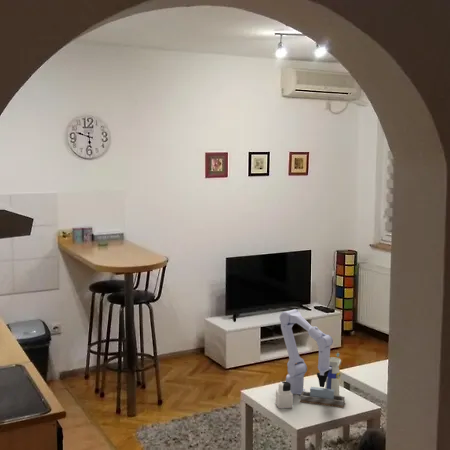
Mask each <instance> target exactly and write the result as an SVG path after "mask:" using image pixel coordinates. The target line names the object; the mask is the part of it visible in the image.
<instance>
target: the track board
mask: <svg viewBox="0 0 450 450" xmlns="http://www.w3.org/2000/svg"><path fill="white" fill-rule="evenodd" d="M345 401H346V400H345V396H341V395H339V396H335V395H334V399H326V398H319V397H311V396H310V391H302V393H301V395H300V397H299V403H305V404H311V405H319V406H326V407H334V408H342V409H343V408H344V405H345Z"/></svg>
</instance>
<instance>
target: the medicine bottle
mask: <svg viewBox="0 0 450 450" xmlns="http://www.w3.org/2000/svg"><path fill="white" fill-rule="evenodd" d="M290 390H291V384H290V383H289V382H286V380H283V381H280V382H279V383H278V389H275V404H276V406H277V407H278V408H279V409H293V407H294V406H293V404H294V403H293V401H294V394H292V393H291V391H290Z"/></svg>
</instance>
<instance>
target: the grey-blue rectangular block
mask: <svg viewBox="0 0 450 450" xmlns="http://www.w3.org/2000/svg"><path fill="white" fill-rule="evenodd" d="M309 392H310V396H311V397H319V398H326V399H334V390H333V389H326V388H325V387H316V386H311V387H310V388H309Z"/></svg>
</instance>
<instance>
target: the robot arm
mask: <svg viewBox="0 0 450 450" xmlns="http://www.w3.org/2000/svg"><path fill="white" fill-rule="evenodd" d="M279 322H280V330H281V334H282V336H283V340H284V343H285V347H286V350H287V355H288V358H289V359H288V362H287V363H286V366H287V374H286V377H285V382H289V383H290V384H291V390H290V391H291V393H292V394H293V395H298V396H299V395H300V396H301V393H302V391H304V392H306V391H305V390H306V389H305V388H304V382H305V379H304V378H305V374H306V373H307V371H308V366H307V364H306V363H305V360H304V358H302V357H301V356H300V354H299V351H298V350H299V349H298V346H297V342H296V339H295V335H294V332H293V326H294V325H295V324H297V325H298V326H300V327H301V328H303V329H304V330H306V332H307V335H308V336H309V337H310V338H312V339H313V340H314V341H315V342H316V345H317V348H318V349H317V350H318V357H317V358H318V362H317V364H318V365H317V369H318V371H319V372H316V377H317V380H318V384H319V388H325V386H326V380H327V376H328V372H329V370H331V369H332V367H329V364H330V356H331V346H332V345H333V343H334V339H333V337H332V336H331V335H330V334H326V333H324V332H323V331H322V330H321V329H319V327H318V326H315V325H314V326H312V325H311V324H310V323H309V321H307V320H306V318H305V317H303V316H302V312H300V311H299V310H298V309H296V308H294V309H291V310H287V311H282V312H281V314H280V315H279Z"/></svg>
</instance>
